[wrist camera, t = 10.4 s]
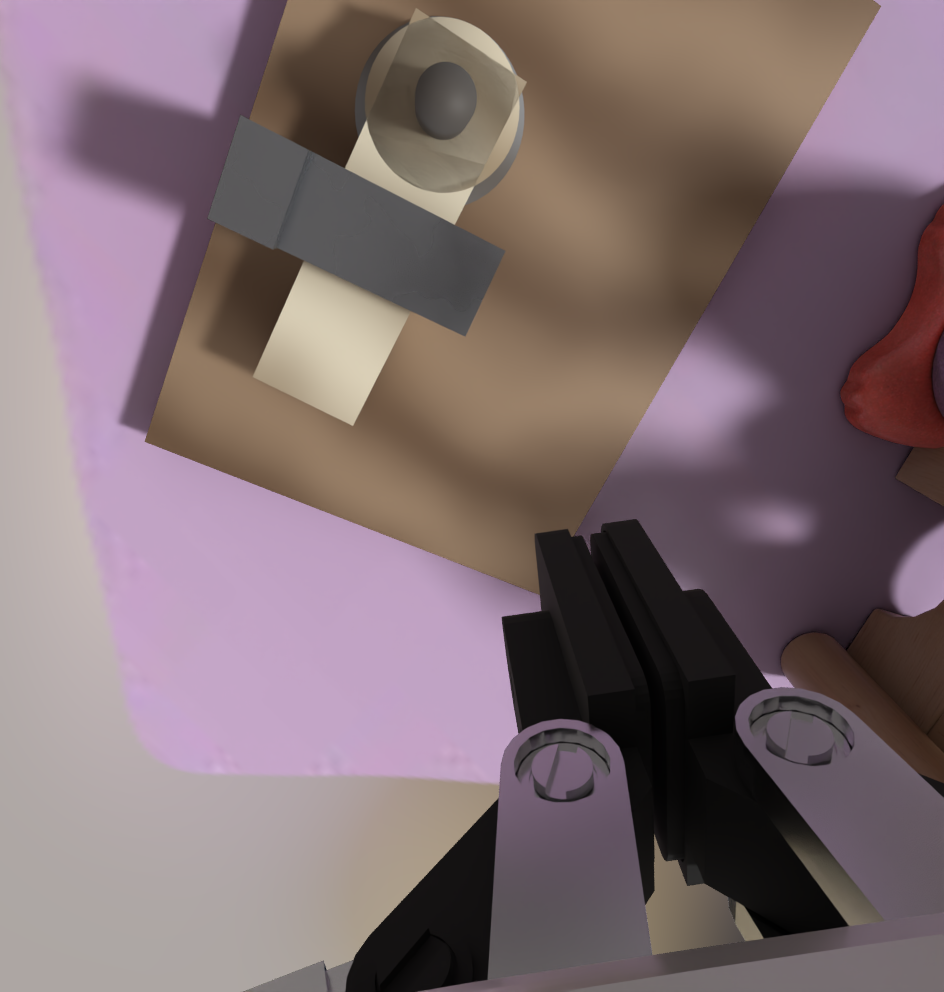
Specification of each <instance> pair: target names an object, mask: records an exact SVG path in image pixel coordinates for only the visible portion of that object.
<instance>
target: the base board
mask: <svg viewBox="0 0 944 992" xmlns="http://www.w3.org/2000/svg"><path fill="white" fill-rule="evenodd" d="M880 7H881V6H880V5H879V4H878V3H876V2H875V1H873V0H287V4H286V7H285V10H284V13H283V16H282V19H281V22H280V25H279V28H278V31H277V34H276V38H275V41H274V44H273V47H272V50H271V53H270V56H269V59H268V62H267V65H266V68H265V71H264V75H263V78H262V81H261V84H260V87H259V90H258V93H257V96H256V99H255V102H254V105H253V109H252V112H251V115H250V118H249V120H251V121H253V122H255V123H257V124H259V125H261V126H263V127H265V128H267V129H269V130H271V131H273V132H275V133H277V134H279V135H281V136H283V137H285V138H286V139H288V140H290V141H292V142H294V143H296V144H298V145H300V146H302V147H304V148H306V149H308V150H310V151H312V152H314V153H316V154H318V155H320V156H322V157H323V158H325V159H327V160H329V161H331V162H333V163H335V164H337V165H339V166H341V167H343V168H345V167H346V165H347V163H348V161H349V158H350V156H351V154H352V151H353V149H354V147H355V145H356V142H357V140H358V138H359V136H360V133H361V131H362V129H363V127H364V124H365V122H366V113H365V93H366V85H367V81H368V76H369V73H370V70H371V68H372V65H373V63H374V61H375V59H376V57H377V55H378V53H379V52H380V50H381V49H382V48H383V46H384V45H385V44H386V43H387V41H388V40H389V39H390V38H391V37H392V36H393V35H395V34H396V33H397V32H398V31H399V30H401V29H402V28H404V27H406V26H407V25H409V23H410V21H411V18H412V16H413V14H414V12H415V9H416V8H417V9H418V10H420V11H421V12H423V13H424V14H426V15H427V16H429V17H430V18H432V17H448V18H454V19H459V20H462V21H465V22H467V23H470V24H472V25H474V26H475V27H477V28H479V29H480V30H482V31H483V32H484V33H486V34H487V35H488V36H489V37H490V38H491V39H492V40H493V41H494V42H495V43H496V44H497V45H498V46H499V48H500V49H501V50H502V52H503V53H504V55H505V56H506V58H507V60H508V62H509V63H510V66H511V68H512V71H513V73H514V74H516V75H517V76H519V77H520V78H522V79H523V80H525V81H526V82H527V83H526V85H525V87H524V89H523V91H522V93H521V95H520V97H519V107H520V109H519V121H518V127H517V132H516V135H515V138H514V141H513V144H512V146H511V148H510V150H509V152H508V154H507V156H506V157H505V159H504V161H503V162H502V163H501V164H500V166H499V167H498V168H497V169H496V170H495V171H494V172H493V173H492V174H491V175H490V176H489V177H488V178H486V179H485V180H484V181H482V182H481V183H479V184H477V185H475V186H474V188H473V190H472V192H471V194H470V196H469V198H468V200H467V202H466V203H465V205H464V207H463V209H462V211H461V213H460V215H459V217H458V219H457V221H456V223H455V225H456V226H458V227H460V228H462V229H464V230H466V231H468V232H470V233H472V234H474V235H476V236H478V237H480V238H482V239H484V240H485V241H487V242H489V243H491V244H493V245H495V246H497V247H499V248H501V249H503V250H505V253H504V255H503V257H502V260H501V262H500V264H499V266H498V268H497V270H496V272H495V275H494V277H493V279H492V281H491V283H490V285H489V287H488V289H487V292H486V294H485V296H484V298H483V300H482V302H481V304H480V307H479V309H478V311H477V313H476V315H475V317H474V319H473V322H472V324H471V326H470V328H469V330H468V332H467V334H466V337H465V336H463V335H460V334H458V333H456V332H454V331H452V330H450V329H448V328H446V327H444V326H441V325H439V324H437V323H435V322H433V321H431V320H429V319H427V318H424V317H422V316H420V315H418V314H416V313H414V312H412V311H411V312H410V314H409V316H408V318H407V320H406V322H405V324H404V326H403V328H402V330H401V332H400V334H399V336H398V338H397V340H396V342H395V344H394V346H393V348H392V350H391V352H390V354H389V356H388V358H387V360H386V362H385V364H384V366H383V368H382V369H381V371H380V373H379V375H378V377H377V379H376V381H375V383H374V385H373V387H372V389H371V391H370V393H369V395H368V397H367V399H366V401H365V403H364V405H363V407H362V409H361V411H360V413H359V415H358V417H357V419H356V421H355V423H354V425H353V426H352V425H350V424H348V423H346V422H344V421H342V420H340V419H338V418H336V417H334V416H332V415H330V414H327V413H325V412H323V411H321V410H319V409H317V408H315V407H313V406H311V405H309V404H307V403H305V402H303V401H301V400H299V399H297V398H295V397H293V396H291V395H289V394H286V393H284V392H282V391H280V390H278V389H276V388H274V387H272V386H270V385H268V384H266V383H264V382H262V381H260V380H258V379H256V378H254V377H253V375H254V373H255V370H256V368H257V366H258V364H259V361H260V359H261V357H262V355H263V352H264V350H265V348H266V346H267V343H268V341H269V339H270V337H271V334H272V332H273V330H274V328H275V325H276V323H277V321H278V319H279V316H280V314H281V312H282V310H283V307H284V305H285V303H286V300H287V298H288V296H289V294H290V291H291V289H292V287H293V285H294V282H295V280H296V278H297V276H298V273H299V271H300V269H301V267H302V264H303V262H304V260H302V259H300V258H298V257H296V256H293V255H291V254H289V253H287V252H285V251H283V250H281V249H279V248H276V249H271V248H268V247H266V246H264V245H262V244H260V243H258V242H256V241H254V240H251V239H249V238H247V237H245V236H243V235H241V234H239V233H237V232H235V231H232V230H230V229H228V228H226V227H224V226H222V225H220V224H218V223H215V226H214V229H213V232H212V235H211V238H210V241H209V244H208V248H207V251H206V254H205V257H204V260H203V263H202V266H201V269H200V272H199V275H198V278H197V282H196V285H195V288H194V291H193V294H192V297H191V300H190V303H189V306H188V309H187V312H186V316H185V319H184V322H183V325H182V328H181V331H180V334H179V337H178V340H177V343H176V346H175V349H174V353H173V356H172V359H171V362H170V365H169V368H168V371H167V374H166V377H165V380H164V383H163V387H162V390H161V393H160V396H159V399H158V402H157V405H156V408H155V411H154V414H153V417H152V421H151V424H150V427H149V430H148V433H147V436H146V439H145V442H147V443H149V444H152V445H155V446H157V447H160V448H162V449H165V450H167V451H170V452H173V453H175V454H178V455H180V456H183V457H185V458H188V459H191V460H193V461H196V462H198V463H201V464H204V465H206V466H209V467H211V468H214V469H216V470H219V471H222V472H224V473H227V474H229V475H232V476H234V477H237V478H240V479H242V480H245V481H247V482H250V483H252V484H255V485H258V486H260V487H263V488H265V489H268V490H271V491H273V492H276V493H278V494H281V495H283V496H286V497H289V498H291V499H294V500H296V501H299V502H301V503H304V504H307V505H309V506H312V507H314V508H317V509H319V510H322V511H325V512H327V513H330V514H332V515H335V516H338V517H340V518H343V519H345V520H348V521H350V522H353V523H356V524H358V525H361V526H363V527H366V528H368V529H371V530H374V531H376V532H379V533H381V534H384V535H386V536H389V537H392V538H394V539H397V540H399V541H402V542H405V543H407V544H410V545H412V546H415V547H417V548H420V549H423V550H425V551H428V552H430V553H433V554H435V555H438V556H441V557H443V558H446V559H448V560H451V561H453V562H456V563H459V564H461V565H464V566H466V567H469V568H472V569H474V570H477V571H479V572H482V573H484V574H487V575H490V576H492V577H495V578H497V579H500V580H502V581H505V582H508V583H510V584H513V585H515V586H518V587H520V588H523V589H526V590H528V591H531V592H533V593H536V594H539V595H540V590H539V580H538V570H537V560H536V551H535V533H542V532H549V531H556V530H563V529H568V530H569V532H570V535H571V537H573V536H574V535H575V533H576V531H577V530H578V528H579V526H580V524H581V523H582V521H583V519H584V517H585V516H586V514H587V512H588V511H589V509H590V507H591V505H592V504H593V502H594V500H595V498H596V497H597V495H598V493H599V492H600V490H601V488H602V486H603V485H604V483H605V481H606V480H607V478H608V476H609V474H610V473H611V471H612V469H613V467H614V466H615V464H616V462H617V461H618V459H619V457H620V455H621V454H622V452H623V450H624V449H625V447H626V445H627V443H628V442H629V440H630V438H631V436H632V435H633V433H634V431H635V430H636V428H637V426H638V424H639V423H640V421H641V419H642V417H643V416H644V414H645V412H646V411H647V409H648V407H649V405H650V404H651V402H652V400H653V399H654V397H655V395H656V393H657V392H658V390H659V388H660V386H661V385H662V383H663V381H664V380H665V378H666V376H667V374H668V373H669V371H670V369H671V367H672V366H673V364H674V362H675V361H676V359H677V357H678V355H679V354H680V352H681V350H682V349H683V347H684V345H685V343H686V342H687V340H688V338H689V336H690V335H691V333H692V331H693V330H694V328H695V326H696V324H697V323H698V321H699V319H700V318H701V316H702V314H703V312H704V311H705V309H706V307H707V305H708V304H709V302H710V300H711V299H712V297H713V295H714V293H715V292H716V290H717V288H718V286H719V285H720V283H721V281H722V280H723V278H724V276H725V274H726V273H727V271H728V269H729V268H730V266H731V264H732V262H733V261H734V259H735V257H736V255H737V254H738V252H739V250H740V249H741V247H742V245H743V243H744V242H745V240H746V238H747V236H748V235H749V233H750V231H751V230H752V228H753V226H754V224H755V223H756V221H757V219H758V218H759V216H760V214H761V212H762V211H763V209H764V207H765V205H766V204H767V202H768V200H769V199H770V197H771V195H772V193H773V192H774V190H775V188H776V187H777V185H778V183H779V181H780V180H781V178H782V176H783V174H784V173H785V171H786V169H787V168H788V166H789V164H790V162H791V161H792V159H793V157H794V155H795V154H796V152H797V150H798V149H799V147H800V145H801V143H802V142H803V140H804V138H805V137H806V135H807V133H808V131H809V130H810V128H811V126H812V124H813V123H814V121H815V119H816V118H817V116H818V114H819V112H820V111H821V109H822V107H823V105H824V104H825V102H826V100H827V99H828V97H829V95H830V93H831V92H832V90H833V88H834V87H835V85H836V83H837V81H838V80H839V78H840V76H841V74H842V73H843V71H844V69H845V68H846V66H847V64H848V62H849V61H850V59H851V57H852V55H853V54H854V52H855V50H856V49H857V47H858V45H859V43H860V42H861V40H862V38H863V37H864V35H865V33H866V31H867V30H868V28H869V26H870V24H871V23H872V21H873V19H874V18H875V16H876V14H877V12H878V11H879V9H880Z"/></svg>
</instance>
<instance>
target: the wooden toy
mask: <svg viewBox="0 0 944 992" xmlns="http://www.w3.org/2000/svg"><path fill="white" fill-rule="evenodd" d="M895 478H896V479H897V480H899V481H901V482H902V483H904V484H906V485H908V486H909V487H911V488H913V489H914V490H916V491H918V492H919V493H921V494H923V495H924V496H926V497H928V498H930V499H931V500H933V501H935V502H937V503H938V504H940V505H942V506H943V507H944V447H940V448H920V447H914V448H913V450H912V451H911V453H910V454H909V456H908V458H907V459H906V461H905V462H904V464H903V466H902V467H901V469H900V470H899V472H898V474H897V475H896V477H895ZM781 668H782V671H783V673H784V675H785V676H786V677H787V679H788V680H789V681H790V683H791V684H792V685H793V686H794V688H799V689H805V690H808V691H812V692H816V693H820V694H823V695H825V696H827V697H829V698H831V699H833V700H835V701H838V702H840V703H841V704H842V705H844V706H845V707H846V708H848V709H849V710H850V711H852V712H853V713H854V714H856V715H857V716H858V717H859V718H860V719H861V720H862V721H863V722H864V723H865V724H866V725H867V726H868V727H869V728H870V729H871V730H872V731H874V732H875V733H876V734H877V735H878V736H879V737H880V738H881V739H882V740H883V741H884V742H885V743H886V744H887V745H888V746H889V747H890V748H891V749H893V750H894V751H895V752H896V753H897V754H898V755H899V756H900V757H901V758H902V759H903V760H904V761H905V762H906V763H907V764H908V765H909V766H911V767H912V768H913V769H914V770H915V771H916V772H917V773H919V774H921V775H924V776H927V777H929V778H932V779H934V780H937V781H940V782H942V783H944V600H943V601H942V602H941V603H940V604H939V605H938V606H937V607H936V608H934V609H931V610H929V611H927V612H924V613H922V614H920V615H917V616H915V617H905V616H901V615H898V614H895V613H892V612H889V611H885V610H882V609H875V610H873V612H872V613H871V615H870V616H869V618H868V619H867V621H866V622H865V624H864V625H863V627H862V628H861V630H860V631H859V633H858V634H857V636H856V637H855V639H854V640H853V642H852V643H851V645H850V646H849V648H848V649H847V651H846V650H845V649H844V648H843V647H842V646H841V645H840V644H839V643H838V642H837V641H836V640H835V639H834V638H833V637H831V636H829V635H827V634H824V633H817V632H812V633H805V634H803V635H801V636H798V637H796V638H795V639H794V640H792V641H791V642H790V643H789V644H788V645H787V646H786V648H785V649H784V651H783V653H782V656H781Z"/></svg>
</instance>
